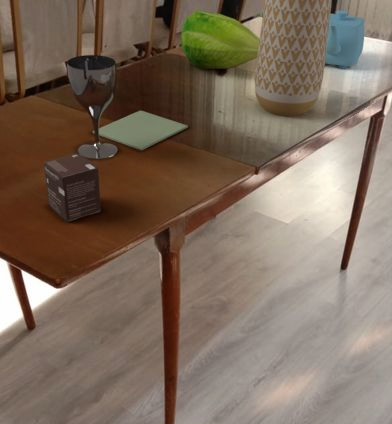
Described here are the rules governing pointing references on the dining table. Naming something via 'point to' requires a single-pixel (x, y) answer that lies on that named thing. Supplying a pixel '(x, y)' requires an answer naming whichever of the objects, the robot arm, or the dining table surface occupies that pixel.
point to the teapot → (344, 39)
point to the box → (72, 186)
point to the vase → (291, 55)
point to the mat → (141, 130)
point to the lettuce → (217, 41)
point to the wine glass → (93, 96)
